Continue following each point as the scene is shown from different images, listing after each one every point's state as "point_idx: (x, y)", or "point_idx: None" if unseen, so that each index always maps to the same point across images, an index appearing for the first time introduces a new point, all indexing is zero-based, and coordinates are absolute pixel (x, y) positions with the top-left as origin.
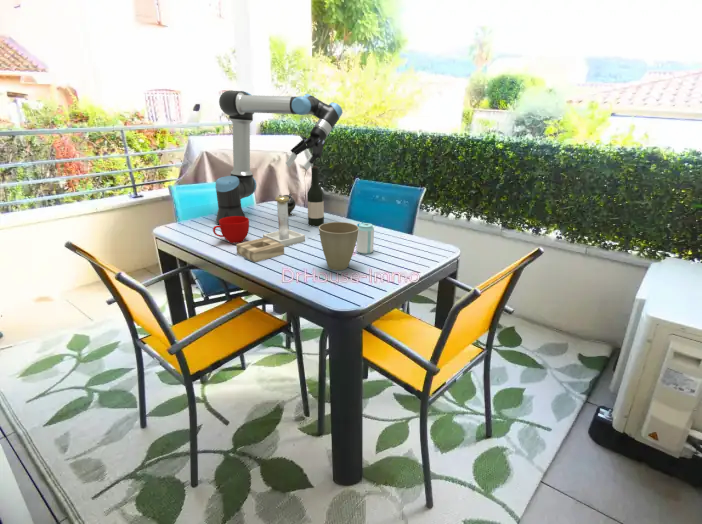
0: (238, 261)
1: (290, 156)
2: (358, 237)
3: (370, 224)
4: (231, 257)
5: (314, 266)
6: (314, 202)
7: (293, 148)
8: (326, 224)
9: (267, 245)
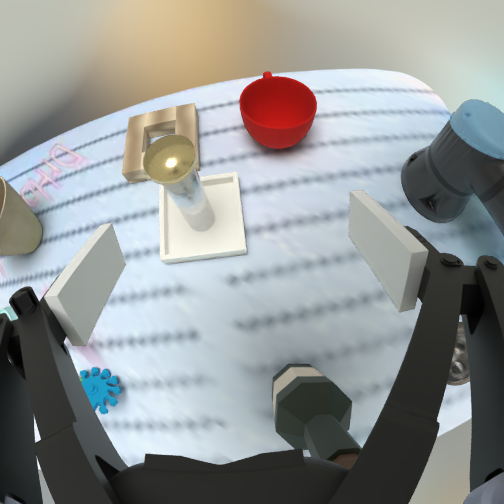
0: (159, 109)
1: (391, 222)
2: None
3: None
4: (185, 104)
5: (55, 204)
6: (283, 387)
7: (498, 283)
8: (4, 205)
9: None
